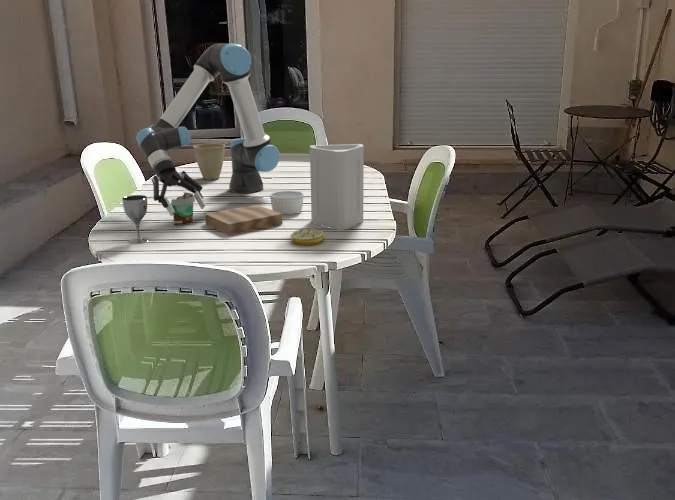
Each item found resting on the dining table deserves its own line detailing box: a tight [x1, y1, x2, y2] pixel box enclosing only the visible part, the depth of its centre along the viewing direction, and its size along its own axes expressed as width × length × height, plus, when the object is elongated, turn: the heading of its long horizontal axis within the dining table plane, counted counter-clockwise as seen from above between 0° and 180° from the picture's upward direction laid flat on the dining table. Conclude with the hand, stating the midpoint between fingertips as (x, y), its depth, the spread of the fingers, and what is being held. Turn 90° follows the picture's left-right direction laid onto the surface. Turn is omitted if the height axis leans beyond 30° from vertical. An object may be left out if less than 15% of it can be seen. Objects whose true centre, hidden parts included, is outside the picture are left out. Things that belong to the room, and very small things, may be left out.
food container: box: [170, 191, 196, 226], centre depth 250 cm, size 12×6×10 cm, turn 170°
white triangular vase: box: [309, 143, 365, 231], centre depth 242 cm, size 19×15×28 cm
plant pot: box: [192, 142, 226, 181], centre depth 324 cm, size 15×15×16 cm
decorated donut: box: [290, 228, 324, 246], centre depth 226 cm, size 10×11×4 cm
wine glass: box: [121, 194, 150, 245], centre depth 227 cm, size 8×8×15 cm
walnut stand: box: [204, 204, 284, 236], centre depth 247 cm, size 22×18×4 cm
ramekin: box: [269, 190, 305, 215], centre depth 264 cm, size 13×13×7 cm
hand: (188, 210), depth 248 cm, fingers open, 13 cm apart
